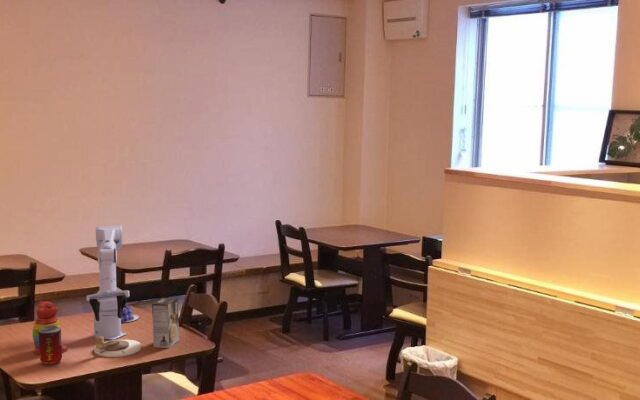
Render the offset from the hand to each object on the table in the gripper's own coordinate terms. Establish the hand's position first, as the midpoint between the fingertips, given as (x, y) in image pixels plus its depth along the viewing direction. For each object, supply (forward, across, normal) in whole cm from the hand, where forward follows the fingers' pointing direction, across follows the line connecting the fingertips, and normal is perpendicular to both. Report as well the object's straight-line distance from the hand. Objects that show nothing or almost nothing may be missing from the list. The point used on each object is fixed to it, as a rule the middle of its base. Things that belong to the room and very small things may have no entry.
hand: (108, 319), depth 265 cm
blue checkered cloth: (-11, -6, +43) cm, 45 cm away
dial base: (+9, 0, +10) cm, 13 cm away
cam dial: (+9, -1, +7) cm, 11 cm away
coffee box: (+8, +16, +16) cm, 24 cm away
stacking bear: (+7, -24, +8) cm, 26 cm away
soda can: (+14, -19, -3) cm, 23 cm away
